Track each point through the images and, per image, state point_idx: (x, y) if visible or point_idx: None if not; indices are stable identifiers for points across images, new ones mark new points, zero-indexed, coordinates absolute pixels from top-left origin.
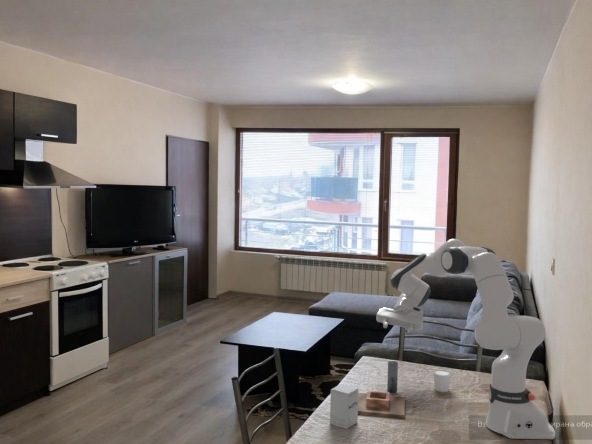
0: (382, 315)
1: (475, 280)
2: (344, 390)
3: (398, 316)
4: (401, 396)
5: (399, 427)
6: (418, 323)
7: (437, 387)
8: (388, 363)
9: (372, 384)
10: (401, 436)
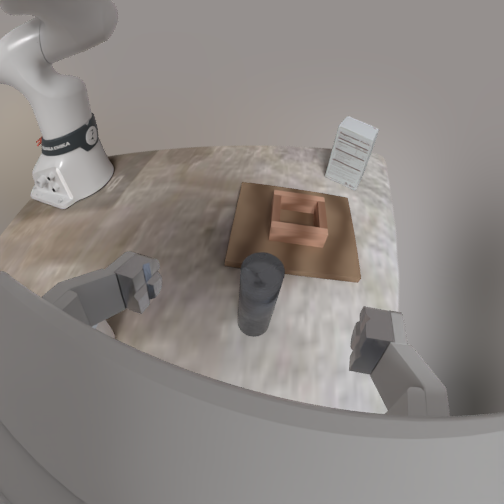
0: (488, 427)
1: None
2: (357, 122)
3: (172, 473)
4: (233, 262)
5: (255, 165)
6: (2, 275)
7: (108, 324)
8: (282, 264)
9: (316, 373)
10: (255, 148)
